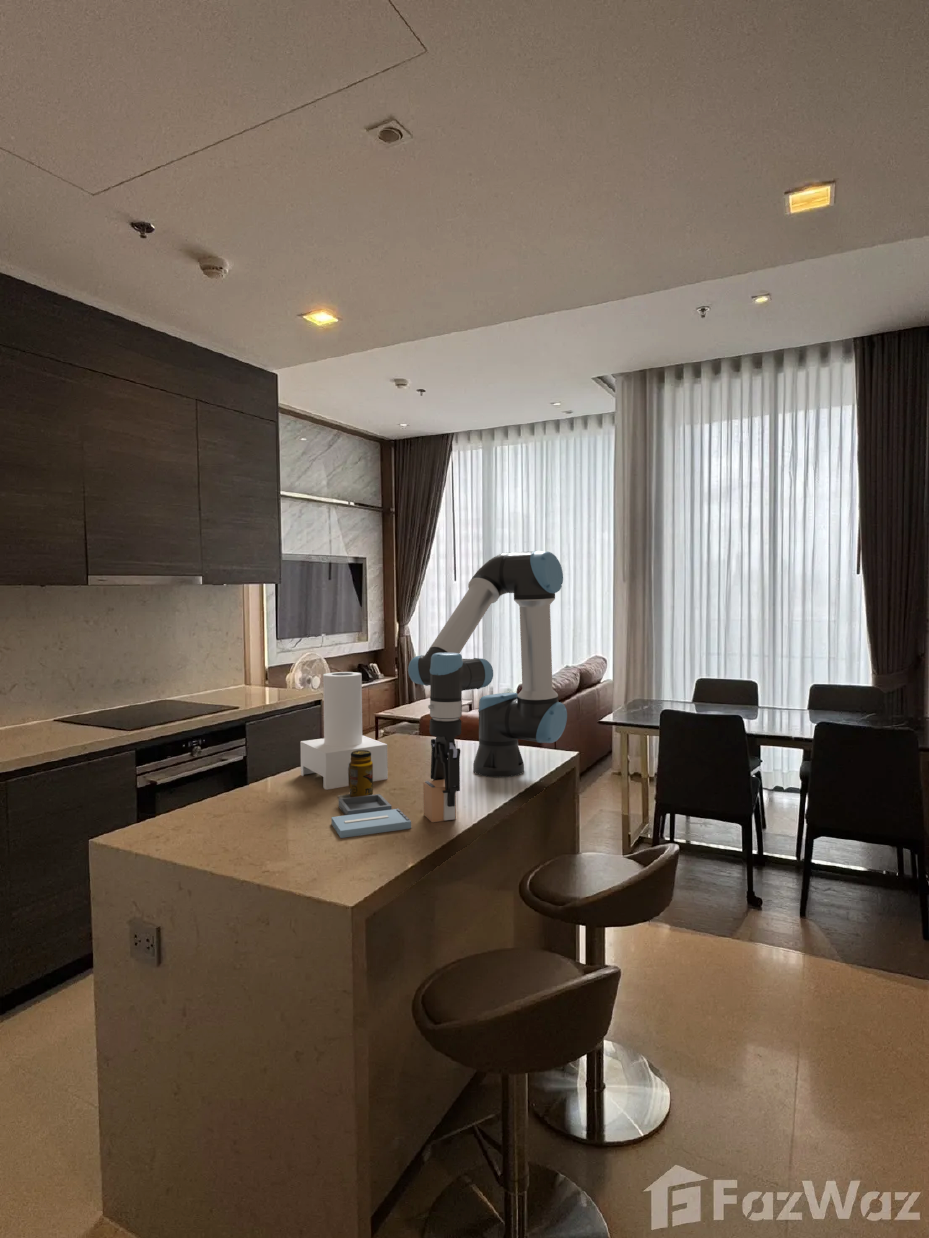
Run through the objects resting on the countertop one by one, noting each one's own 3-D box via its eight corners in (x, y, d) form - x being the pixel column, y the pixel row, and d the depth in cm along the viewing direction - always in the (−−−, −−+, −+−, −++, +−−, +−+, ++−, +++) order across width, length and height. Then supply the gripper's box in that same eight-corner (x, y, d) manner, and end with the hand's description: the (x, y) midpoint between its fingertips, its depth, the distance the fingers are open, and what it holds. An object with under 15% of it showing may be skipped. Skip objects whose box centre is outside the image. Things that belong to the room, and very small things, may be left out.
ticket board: (398, 815, 164) (398, 807, 164) (411, 828, 155) (411, 820, 155) (331, 823, 158) (331, 816, 158) (340, 838, 149) (340, 829, 149)
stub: (447, 811, 167) (446, 778, 167) (456, 818, 161) (455, 784, 161) (423, 814, 165) (423, 780, 164) (432, 822, 159) (431, 787, 159)
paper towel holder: (387, 778, 197) (386, 674, 196) (326, 789, 187) (324, 679, 186) (359, 765, 213) (358, 669, 212) (300, 775, 202) (299, 673, 201)
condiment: (379, 798, 178) (378, 752, 178) (348, 804, 174) (348, 757, 173) (366, 791, 184) (366, 747, 184) (337, 797, 180) (336, 751, 179)
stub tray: (379, 801, 175) (379, 793, 175) (391, 813, 166) (391, 805, 165) (338, 806, 171) (338, 798, 171) (347, 819, 162) (347, 810, 161)
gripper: (417, 712, 170) (416, 805, 171) (444, 725, 153) (443, 829, 153) (446, 711, 173) (445, 802, 174) (475, 723, 155) (474, 825, 156)
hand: (444, 814), depth 163 cm, fingers closed on stub, 6 cm apart
